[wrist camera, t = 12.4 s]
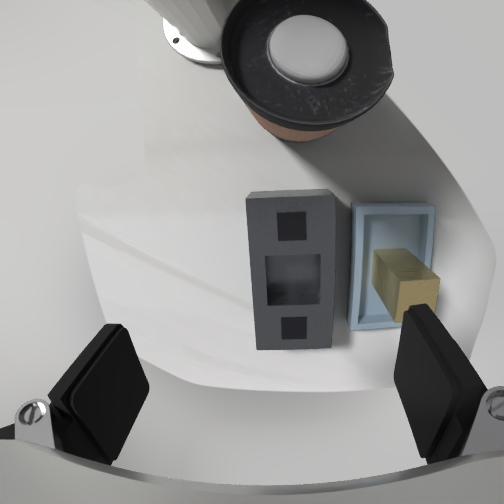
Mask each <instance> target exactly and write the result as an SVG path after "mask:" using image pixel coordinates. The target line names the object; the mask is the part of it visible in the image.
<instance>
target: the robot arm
mask: <svg viewBox="0 0 504 504" xmlns="http://www.w3.org/2000/svg"><path fill="white" fill-rule="evenodd" d="M145 1H146V2H147V3H148V4H149V5H150V6H151V7H152V8H153V9H155V10H156V11H157V12H158V13H159V14H160V15H161V16H162V17H163V18H164V20H163V28H164V33H165V36H166V39H167V41H168V42H169V44H170V45H171V46H172V48H174V49H175V50H176V51H177V52H178V53H179V54H181V55H182V56H183V57H185V58H187V59H189V60H192V61H194V62H199V63H203V64H222V61H221V58H220V47H219V46H220V35H221V30H222V26H223V24H224V21H225V19H226V17H227V15H228V13H229V12H230V10H231V9H232V8H233V6H234V5H235V4H236V2H238V1H239V0H145ZM178 41H180V42H179V43H177V42H178ZM394 382H395V385H396V387H397V390H398V393H399V396H400V398H401V401H402V404H403V407H404V409H405V412H406V415H407V418H408V421H409V424H410V427H411V430H412V433H413V436H414V439H415V442H416V444H417V448H418V451H419V454H420V457H421V458H426V461H427V464H428V465H425V466H421V467H417V468H412V469H408V470H404V471H399V472H395V473H389V474H384V475H378V476H372V477H367V478H360V479H354V480H347V481H338V482H328V483H318V484H303V485H276V486H275V485H272V486H261V485H260V486H258V485H231V484H215V483H205V482H196V481H187V480H180V479H173V478H166V477H160V476H154V475H149V474H144V473H139V472H135V471H130V470H126V469H121V468H117V467H113V466H111V464H112V462H113V461H114V460H116V459H117V458H118V456H119V454H120V452H121V450H122V447H123V445H124V443H125V441H126V439H127V437H128V435H129V433H130V430H131V428H132V426H133V424H134V422H135V420H136V418H137V416H138V414H139V412H140V409H141V407H142V405H143V403H144V401H145V399H146V397H147V395H148V393H149V383H148V381H147V378H146V376H145V373H144V371H143V369H142V366H141V364H140V361H139V359H138V356H137V354H136V351H135V348H134V346H133V343H132V341H131V338H130V335H129V332H128V330H127V329H126V328H124V327H123V326H122V325H121V324H106V325H104V326H103V328H102V329H101V330H100V331H99V332H98V334H97V335H96V336H95V337H94V338H93V340H92V341H91V342H90V343H89V344H88V345H87V347H86V348H85V349H84V350H83V351H82V353H81V354H80V355H79V356H78V357H77V359H76V360H75V361H74V363H73V364H72V365H71V366H70V367H69V369H68V370H67V371H66V372H65V373H64V375H63V376H62V378H61V379H60V380H59V381H58V382H57V384H56V385H55V386H54V387H53V389H52V390H51V391H50V393H49V394H48V397H49V399H50V400H51V403H50V405H49V404H48V403H47V402H46V401H44V400H42V399H33V400H30V401H28V402H26V403H24V404H23V405H22V406H21V407H20V408H19V409H18V411H17V413H16V415H15V423H14V424H11V425H9V426H6V427H3V428H1V429H0V504H504V387H503V386H498V387H493V388H491V389H489V390H488V389H487V388H486V386H485V385H484V383H483V382H482V380H481V378H480V377H479V375H478V374H477V372H476V371H475V369H474V368H473V366H472V365H471V363H470V362H469V360H468V359H467V357H466V356H465V354H464V353H463V351H462V350H461V348H460V347H459V346H458V344H457V343H456V341H455V340H454V339H453V338H452V337H451V335H450V334H449V333H448V331H447V330H446V328H445V327H444V326H443V324H442V323H441V322H440V320H439V319H438V318H437V316H436V315H435V314H434V312H433V311H432V310H431V308H430V307H429V306H428V304H426V303H424V304H417V305H411V306H409V308H408V310H407V311H404V314H403V321H402V328H401V335H400V341H399V348H398V353H397V359H396V365H395V370H394Z"/></svg>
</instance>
